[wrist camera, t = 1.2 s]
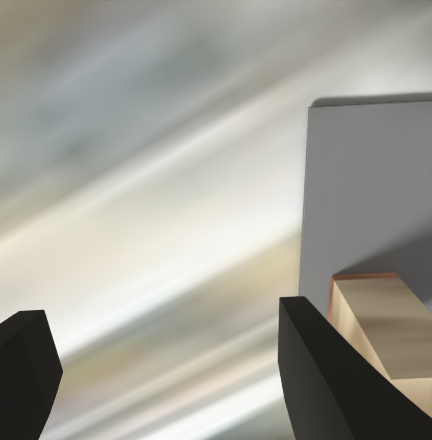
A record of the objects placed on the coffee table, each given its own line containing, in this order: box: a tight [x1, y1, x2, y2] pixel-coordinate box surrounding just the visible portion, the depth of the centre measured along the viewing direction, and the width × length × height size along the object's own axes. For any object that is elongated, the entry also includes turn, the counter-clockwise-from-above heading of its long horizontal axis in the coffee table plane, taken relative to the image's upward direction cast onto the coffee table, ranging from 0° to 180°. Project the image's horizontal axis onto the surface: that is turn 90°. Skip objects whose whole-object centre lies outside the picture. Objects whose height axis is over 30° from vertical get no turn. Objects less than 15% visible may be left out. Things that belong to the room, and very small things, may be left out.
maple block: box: [327, 272, 432, 418], centre depth 18 cm, size 4×4×7 cm
